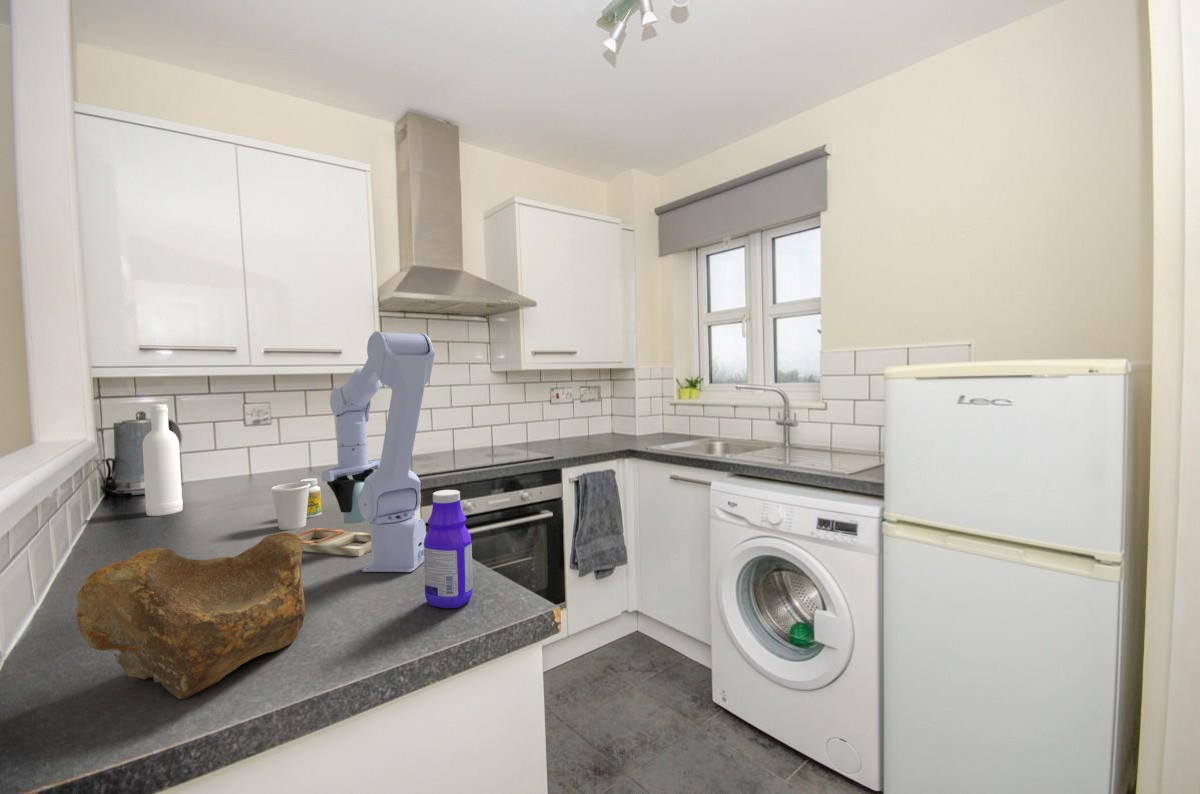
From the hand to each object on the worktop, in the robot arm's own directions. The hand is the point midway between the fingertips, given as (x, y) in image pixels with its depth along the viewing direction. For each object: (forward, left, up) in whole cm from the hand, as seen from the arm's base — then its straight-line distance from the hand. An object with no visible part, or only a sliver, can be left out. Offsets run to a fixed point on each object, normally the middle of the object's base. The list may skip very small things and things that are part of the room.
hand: (355, 509), depth 110 cm
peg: (0, 0, -2) cm, 2 cm away
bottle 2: (-30, +26, -8) cm, 41 cm away
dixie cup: (+25, -16, -8) cm, 31 cm away
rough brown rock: (-7, +46, -8) cm, 47 cm away
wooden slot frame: (+5, -1, -8) cm, 10 cm away
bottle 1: (+72, -30, -8) cm, 78 cm away
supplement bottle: (+27, -26, -8) cm, 38 cm away
